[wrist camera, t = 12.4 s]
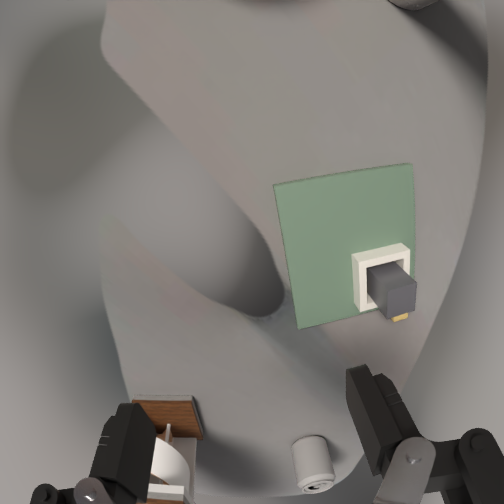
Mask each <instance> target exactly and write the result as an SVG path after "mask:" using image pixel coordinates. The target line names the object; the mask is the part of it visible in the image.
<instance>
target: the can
mask: <svg viewBox="0 0 504 504" xmlns="http://www.w3.org/2000/svg"><path fill="white" fill-rule="evenodd" d="M291 451H292V457H293V462H294V468H295V473H296V479H297V484H298V487H299V488H301V489H302V492H303V493H307V494H313V493H319V492H323V491H325V490H328V489H329V488H331V487H332V486H333V485H334V482H333V481H334V480H335V477H336V476H335V473H334V469H333V465H332V462H331V458H330V454H329V451H328V447H327V443H326V441H325V439H324V438H322V437H319V436H315V435H311V436H305V437H302V438H300V439H298V440H297V441H296V442H295V443H294V444H293V445H292V447H291Z"/></svg>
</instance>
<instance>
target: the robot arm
mask: <svg viewBox="0 0 504 504" xmlns="http://www.w3.org/2000/svg"><path fill="white" fill-rule="evenodd" d="M389 1H390V2H392V3H394V4H395V5H397V6H399V7H401V8H404V9H408V10H419V9H422V8H424V7H426V6H429V5H430V4H432V3H434V2H437V1H439V0H389ZM346 400H347V404H348V408H349V411H350V413H351V416H352V419H353V422H354V424H355V427H356V430H357V432H358V435H359V438H360V441H361V443H362V446H363V449H364V452H365V454H366V457H367V460H368V463H369V466H370V469H371V472H372V474H373V476H375V475H378V474H381V475H382V478H383V482H382V485H381V486H380V489H379V491H378V493H377V495H376V497H375V499H374V501H373V503H372V504H420V502H421V500H422V497H423V494H424V493H431V492H438V491H440V492H441V495H442V497H443V500H444V503H445V504H504V456H503V454H502V452H501V450H500V448H499V446H498V444H497V442H496V440H495V439H494V437H493V435H492V434H491V433H490V432H489V431H488V430H485V429H482V428H475V429H471V430H469V431H467V432H466V433H465V434H464V435H463V436H462V437H461V439H457V440H450V441H444V442H434V441H430V440H428V439H426V438H424V437H423V436H422V435H421V434H420V433H419V431H418V429H417V427H416V425H415V424H414V422H413V420H412V418H411V416H410V414H409V412H408V410H407V408H406V406H405V404H404V403H403V402H402V399H401V397H400V395H399V394H398V391H397V389H396V388H395V386H394V384H393V382H392V381H391V380H390V379H388V378H387V377H386V376H385V375H383V374H382V373H381V374H378V375H375V376H372V374H371V372H370V370H369V368H368V366H367V365H366V364H364V365H361V366H357V367H354V368H350V369H347V370H346ZM155 443H156V429H155V426H154V424H153V422H152V421H151V420H150V418H149V417H148V415H147V414H146V412H145V411H144V409H143V408H142V406H141V405H140V404H139V403H121V404H120V405H119V406H118V409H117V412H116V415H115V416H111V417H110V418H109V420H108V421H107V422H106V424H105V425H104V428H103V431H102V434H101V438H100V440H99V446H98V447H97V450H96V454H95V457H94V461H93V464H92V467H91V471H90V475H89V477H88V478H84V479H82V480H80V481H79V482H78V483H77V484H76V486H75V488H69V489H62V490H57V489H56V488H55V487H53V486H52V485H50V484H41V485H39V486H38V487H37V488H36V489H35V490H34V492H33V494H32V498H31V502H30V504H136V503H146V502H147V495H148V488H149V481H150V474H151V468H152V461H153V455H154V449H155Z"/></svg>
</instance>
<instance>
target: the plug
mask: <svg viewBox="0 0 504 504" xmlns="http://www.w3.org/2000/svg"><path fill="white" fill-rule="evenodd" d="M366 275H367V293H368V294H369V296H370V297H371V298H372V300H373V301H374V302H375V304H376V305H377V307H378V308H379V309H380V311H381V312H382V313H383V315H384V316H385V318H386V319H389V318H391V319H392V321H393V322H396V321H399V320H402V319H405V318H408V312H411V311H414V310H415V301H416V288H417V282H416V281H415V280H414V279H413V278H412V277H411V276H410V275H408V274H407V273H406V272H405V271H404V270H403V269H402V268H401V267H400V266H399V265H398V264H397V263H396V262H395V261H392V262H388V263H384V264H380V265H375V266H371V267H367V268H366Z"/></svg>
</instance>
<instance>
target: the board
mask: <svg viewBox="0 0 504 504" xmlns="http://www.w3.org/2000/svg"><path fill="white" fill-rule="evenodd" d="M273 189H274V194H275V199H276V205H277V210H278V216H279V221H280V227H281V233H282V238H283V244H284V250H285V256H286V262H287V268H288V274H289V280H290V286H291V292H292V298H293V305H294V311H295V318H296V324H297V327H298V329H302V328H307V327H311V326H315V325H319V324H324V323H328V322H332V321H336V320H340V319H344V318H348V317H351V316H355V315H359V314H363V313H366V312H370V311H374V310H377V309H379V308H378V307H377V305H376V304H375V302H374V301H373V300H372V298H371V297H370V296H369V294H368V293H367V275H366V268H367V267H371V266H375V265H380V264H384V263H388V262H392V261H395V262H396V263H397V264H398V265H399V266H400V267H401V268H402V269H403V270H404V271H405V272H406V273H407V274H408V275H410V276H411V277H412V278H413V279H414V266H415V199H414V180H413V166H412V164H410V163H403V164H395V165H388V166H381V167H374V168H367V169H360V170H354V171H347V172H341V173H335V174H329V175H323V176H317V177H311V178H306V179H300V180H295V181H290V182H284V183H279V184H274V185H273Z"/></svg>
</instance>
